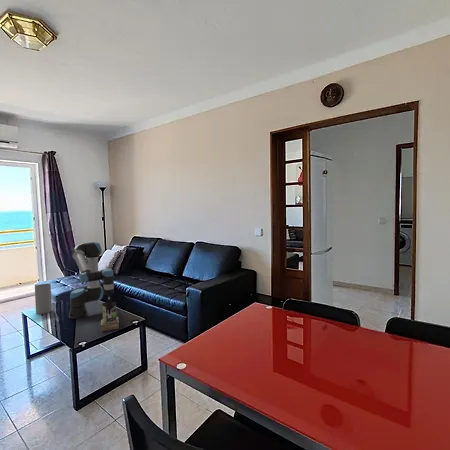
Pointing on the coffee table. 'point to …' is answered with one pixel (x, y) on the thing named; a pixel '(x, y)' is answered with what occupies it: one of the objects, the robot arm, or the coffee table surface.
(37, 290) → the cylinder vase
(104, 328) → the beech block
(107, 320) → the coffee can
